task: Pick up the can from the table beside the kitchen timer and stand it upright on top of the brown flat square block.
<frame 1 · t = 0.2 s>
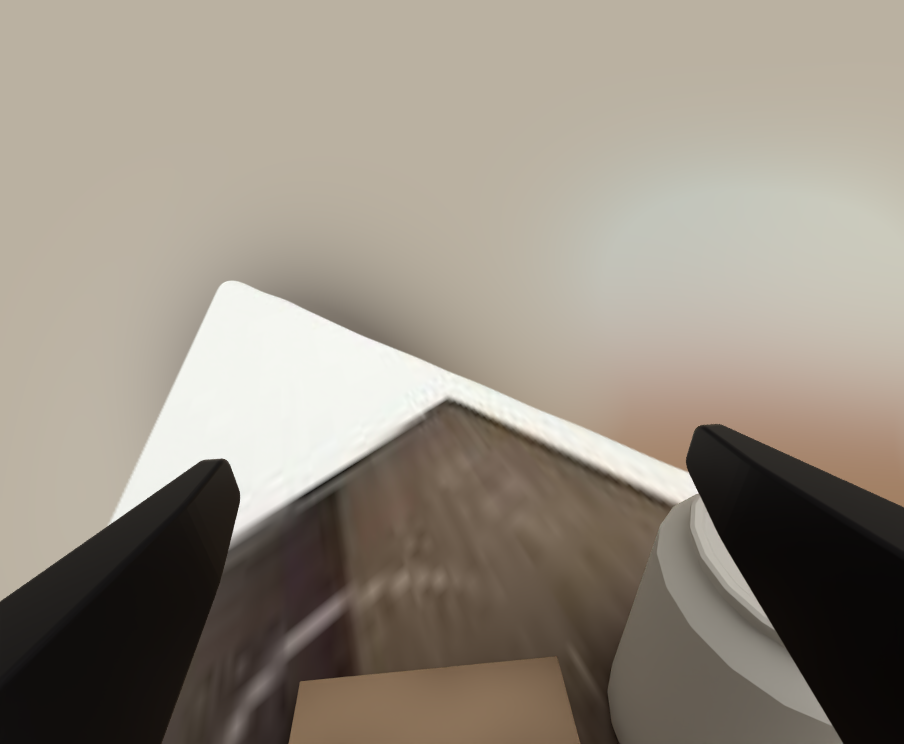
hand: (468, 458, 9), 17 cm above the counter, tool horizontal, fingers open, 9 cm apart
can: (696, 733, 19), on the counter
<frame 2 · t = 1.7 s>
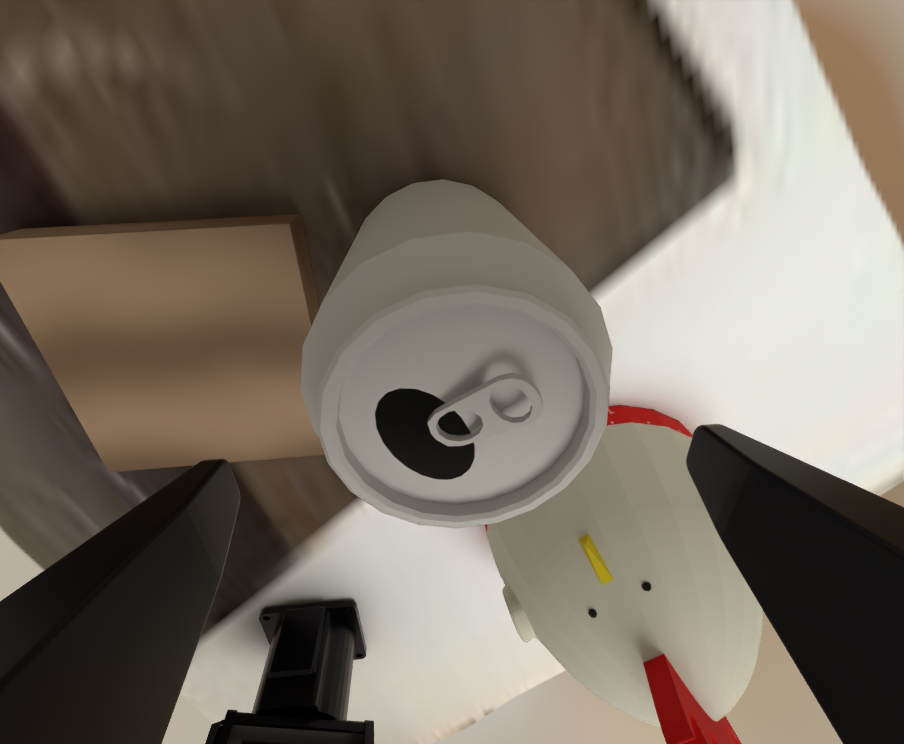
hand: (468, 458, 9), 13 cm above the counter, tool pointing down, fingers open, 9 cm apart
can: (438, 267, 20), on the counter
brown flat square block: (210, 339, 21), on the counter
kitchen timer: (592, 495, 28), on the counter
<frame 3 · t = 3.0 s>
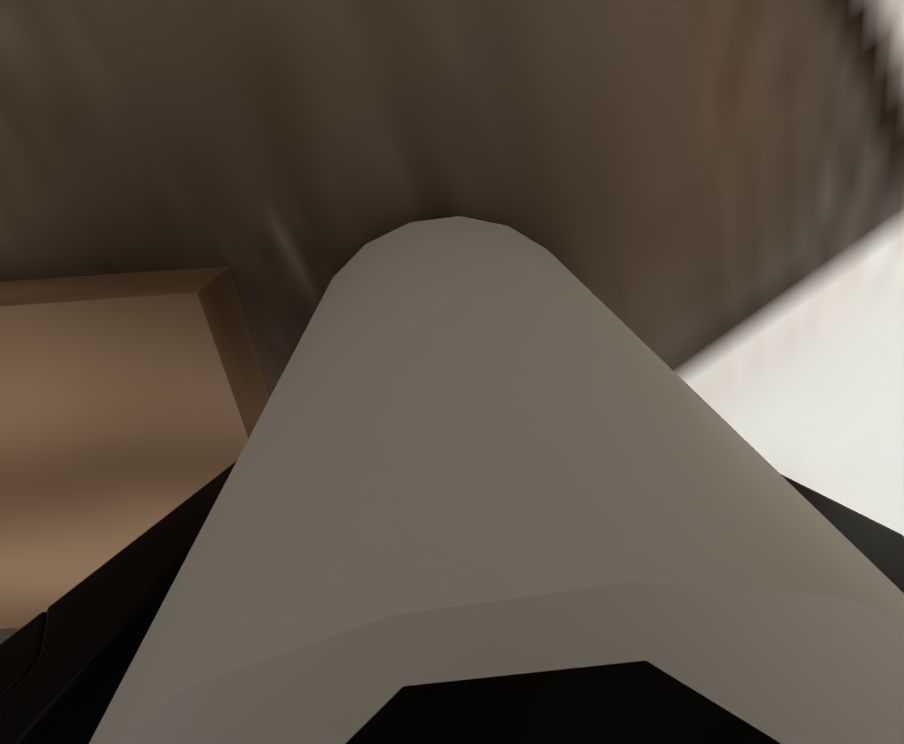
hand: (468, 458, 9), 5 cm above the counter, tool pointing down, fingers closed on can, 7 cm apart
can: (449, 341, 13), on the counter, touching gripper
brown flat square block: (113, 440, 14), on the counter
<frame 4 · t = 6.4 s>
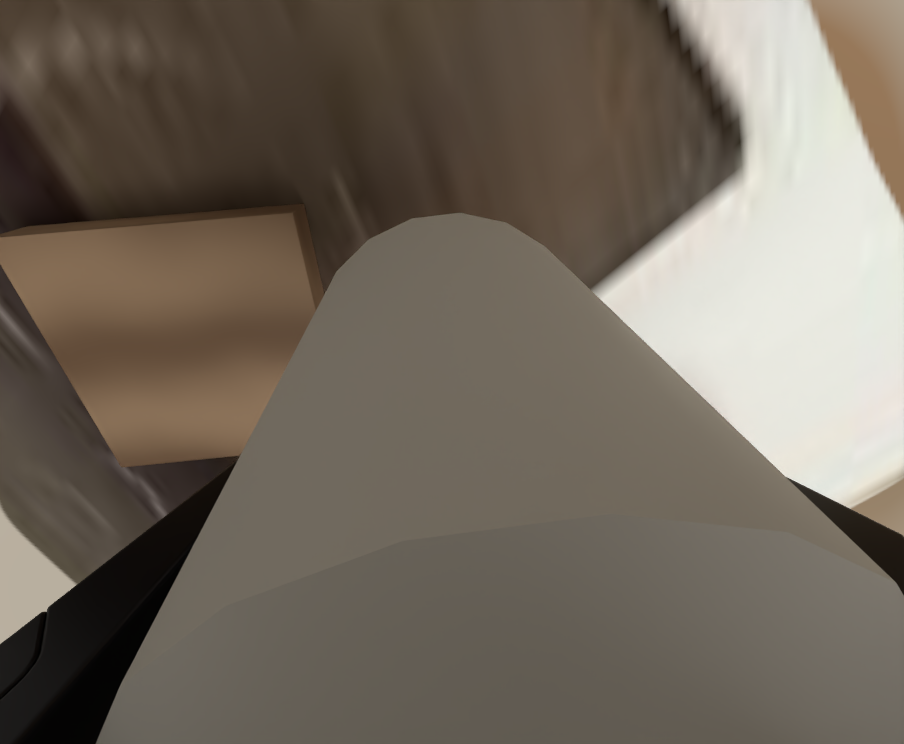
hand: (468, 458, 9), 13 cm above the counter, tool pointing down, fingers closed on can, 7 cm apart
can: (448, 335, 13), point 7 cm above the counter, touching gripper
brown flat square block: (217, 332, 21), on the counter
when the fingers open (8 cm above the counter, at t = 9.7 s): can moves 1 cm, resting on brown flat square block.
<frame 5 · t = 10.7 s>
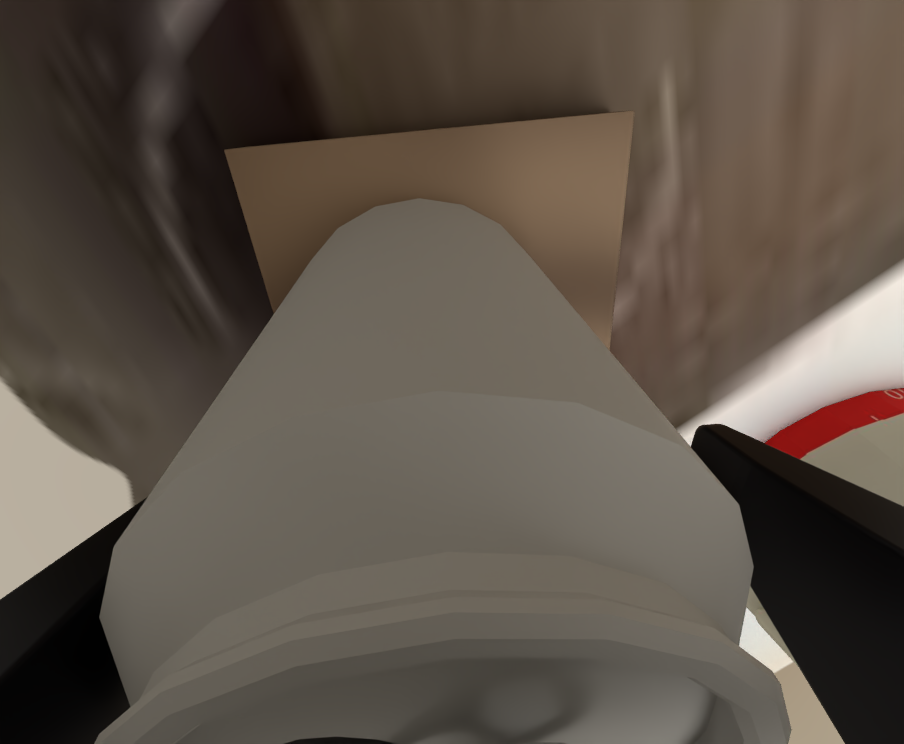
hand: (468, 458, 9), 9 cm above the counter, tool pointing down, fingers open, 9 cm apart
can: (423, 314, 14), point 2 cm above the counter, touching gripper, brown flat square block
brown flat square block: (444, 295, 17), on the counter, touching can
kitchen timer: (833, 497, 23), on the counter
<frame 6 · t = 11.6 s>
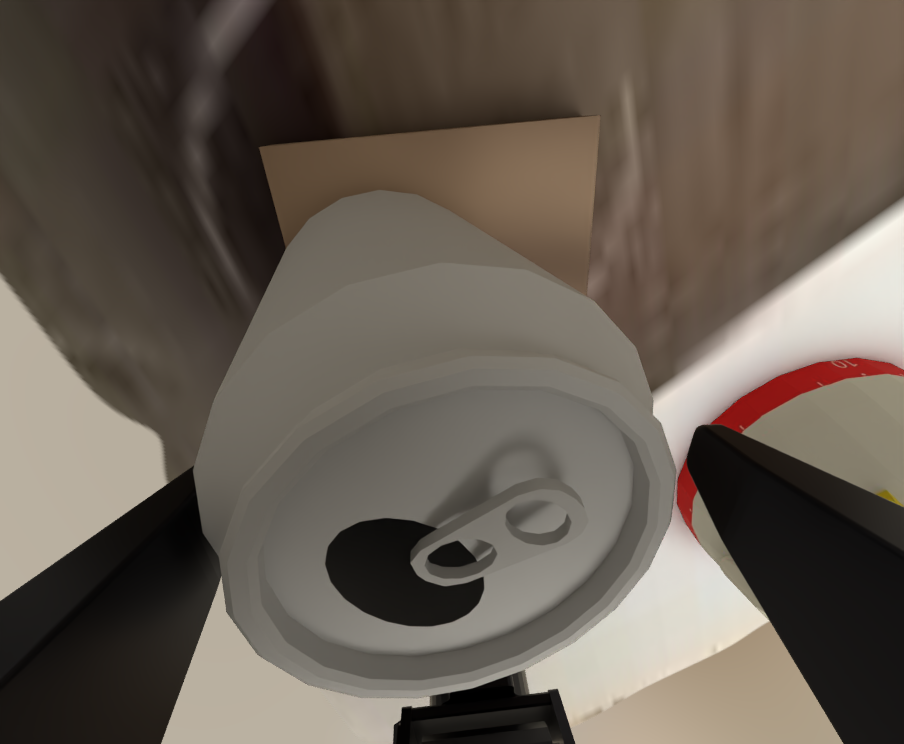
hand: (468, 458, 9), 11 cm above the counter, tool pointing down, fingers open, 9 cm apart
can: (386, 295, 16), point 2 cm above the counter, touching brown flat square block
brown flat square block: (442, 274, 19), on the counter, touching can
kitchen timer: (793, 462, 26), on the counter
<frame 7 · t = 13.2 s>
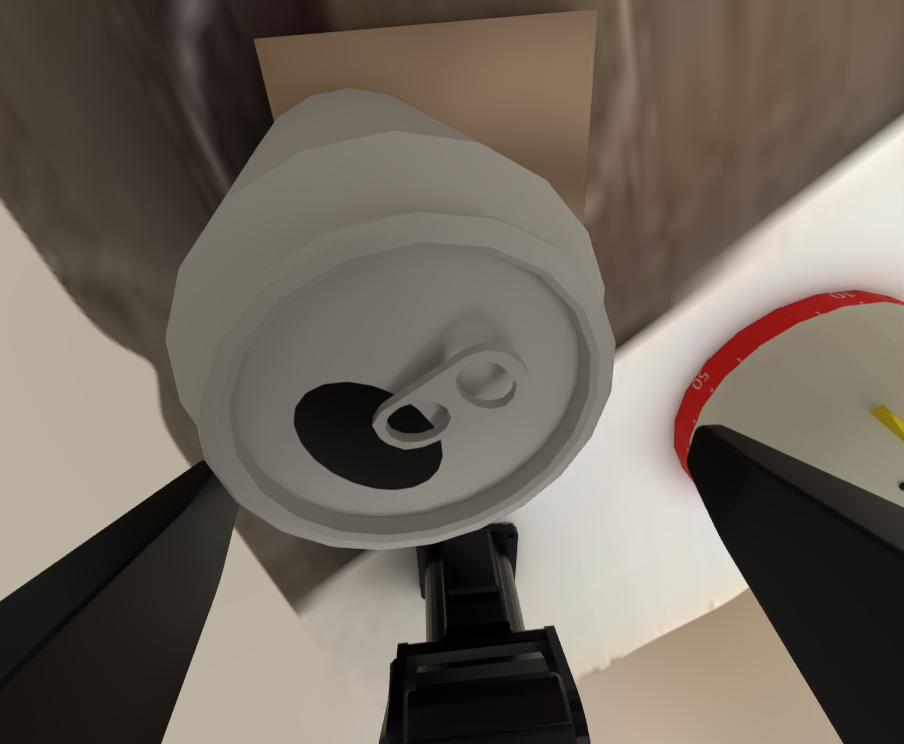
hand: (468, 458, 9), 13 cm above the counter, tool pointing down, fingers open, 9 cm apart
can: (362, 208, 16), point 2 cm above the counter, touching brown flat square block
brown flat square block: (439, 195, 19), on the counter, touching can
kitchen timer: (791, 403, 25), on the counter
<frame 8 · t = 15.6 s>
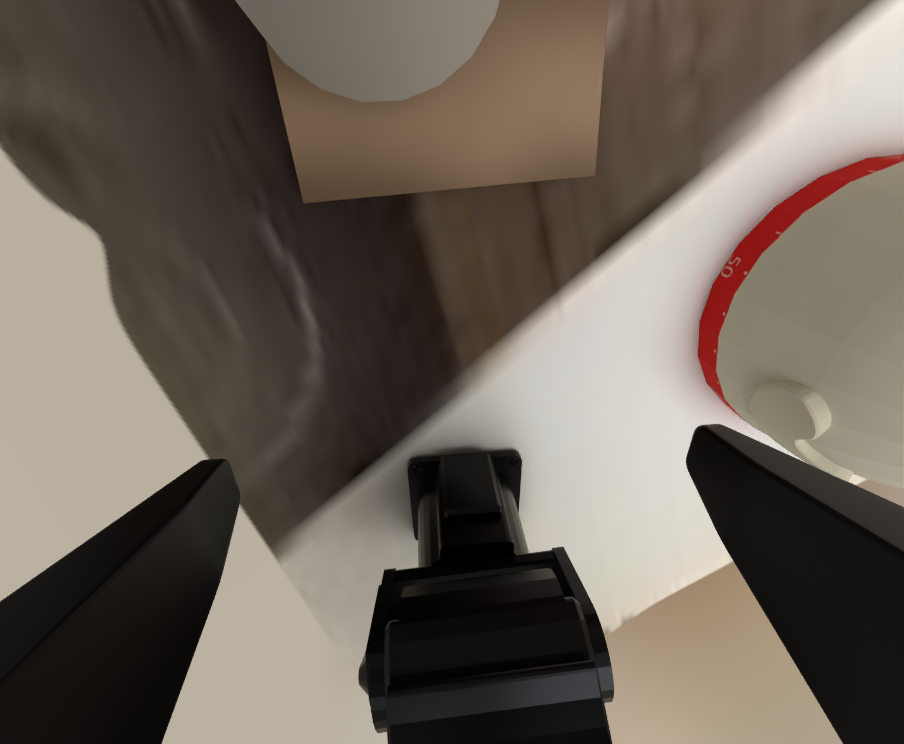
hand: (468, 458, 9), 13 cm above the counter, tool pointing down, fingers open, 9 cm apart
brown flat square block: (433, 17, 16), on the counter, touching can
kitchen timer: (830, 304, 23), on the counter
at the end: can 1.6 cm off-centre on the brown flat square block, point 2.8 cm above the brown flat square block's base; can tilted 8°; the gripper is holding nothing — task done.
